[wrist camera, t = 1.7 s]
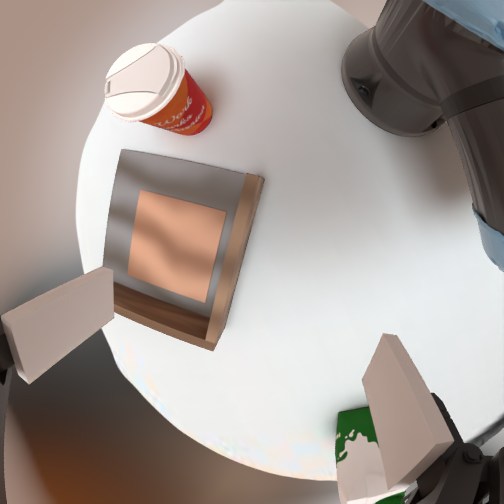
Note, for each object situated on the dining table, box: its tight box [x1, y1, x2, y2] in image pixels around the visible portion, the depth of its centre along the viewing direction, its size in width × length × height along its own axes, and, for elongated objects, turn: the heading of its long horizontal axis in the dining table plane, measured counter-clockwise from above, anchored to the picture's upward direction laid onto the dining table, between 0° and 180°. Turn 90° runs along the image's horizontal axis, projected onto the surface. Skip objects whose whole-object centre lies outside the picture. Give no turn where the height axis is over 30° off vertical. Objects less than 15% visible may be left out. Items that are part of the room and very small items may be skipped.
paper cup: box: [104, 43, 212, 135], centre depth 23 cm, size 8×8×14 cm
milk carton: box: [335, 407, 407, 504], centre depth 27 cm, size 9×9×20 cm
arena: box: [103, 149, 265, 351], centre depth 31 cm, size 20×20×6 cm
